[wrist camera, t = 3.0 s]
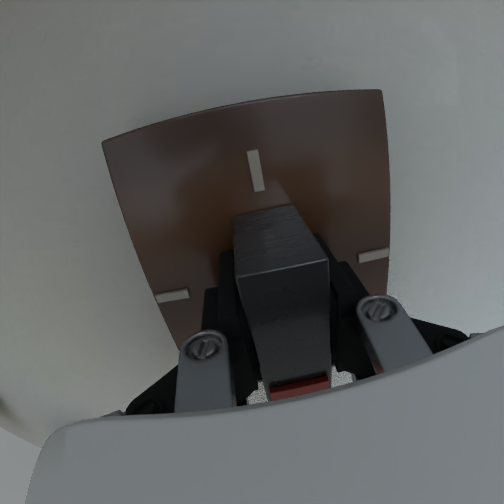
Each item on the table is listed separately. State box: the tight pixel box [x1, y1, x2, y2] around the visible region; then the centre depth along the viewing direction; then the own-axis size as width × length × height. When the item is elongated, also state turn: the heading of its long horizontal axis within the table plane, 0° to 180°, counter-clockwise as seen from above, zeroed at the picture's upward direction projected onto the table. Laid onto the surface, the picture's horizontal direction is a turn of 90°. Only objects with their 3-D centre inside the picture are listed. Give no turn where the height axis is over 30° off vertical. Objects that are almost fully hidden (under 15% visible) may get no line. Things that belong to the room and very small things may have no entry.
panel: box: [102, 89, 390, 382], centre depth 13 cm, size 13×10×3 cm
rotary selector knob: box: [232, 205, 332, 402], centre depth 10 cm, size 6×2×4 cm, turn 10°
